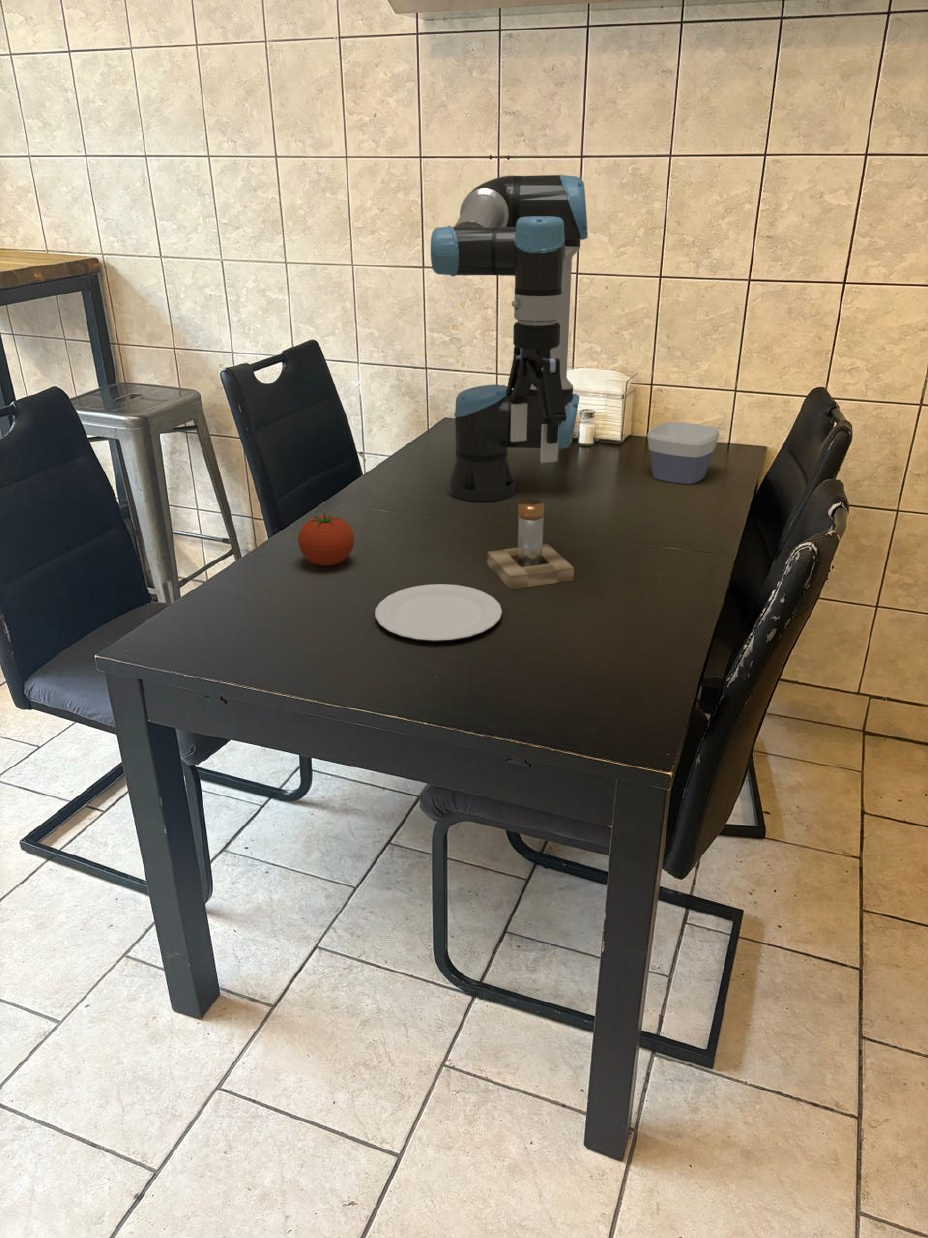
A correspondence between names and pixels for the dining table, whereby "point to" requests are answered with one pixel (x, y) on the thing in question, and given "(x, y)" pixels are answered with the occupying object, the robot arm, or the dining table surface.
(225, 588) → the dining table surface
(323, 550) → the tomato
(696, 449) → the bowl
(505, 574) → the socket block
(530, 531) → the clear jar
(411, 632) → the plate
